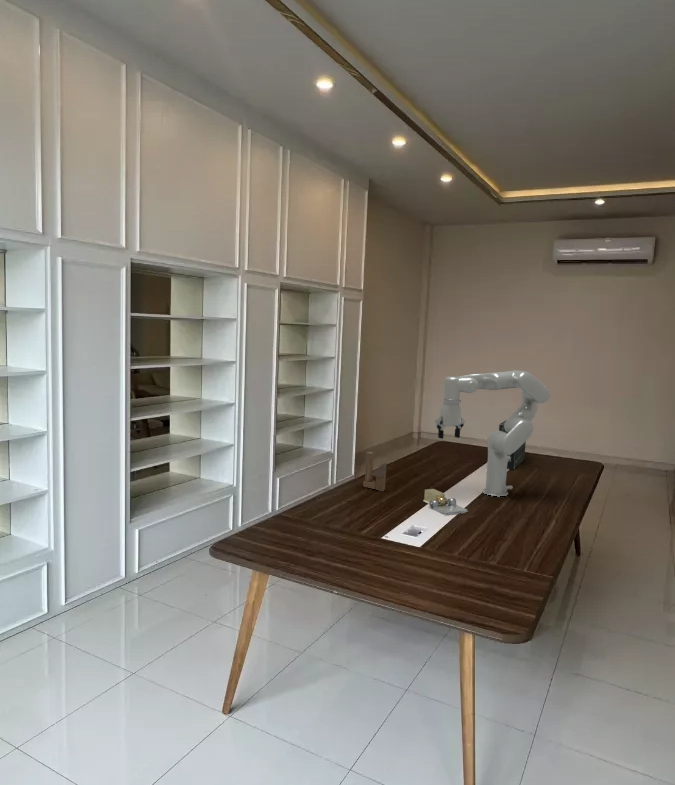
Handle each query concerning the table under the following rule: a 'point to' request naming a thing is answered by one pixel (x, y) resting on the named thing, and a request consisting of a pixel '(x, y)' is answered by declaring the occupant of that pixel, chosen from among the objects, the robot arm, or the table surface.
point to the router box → (518, 455)
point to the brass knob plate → (435, 496)
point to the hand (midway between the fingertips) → (448, 437)
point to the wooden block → (374, 474)
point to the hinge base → (447, 507)
